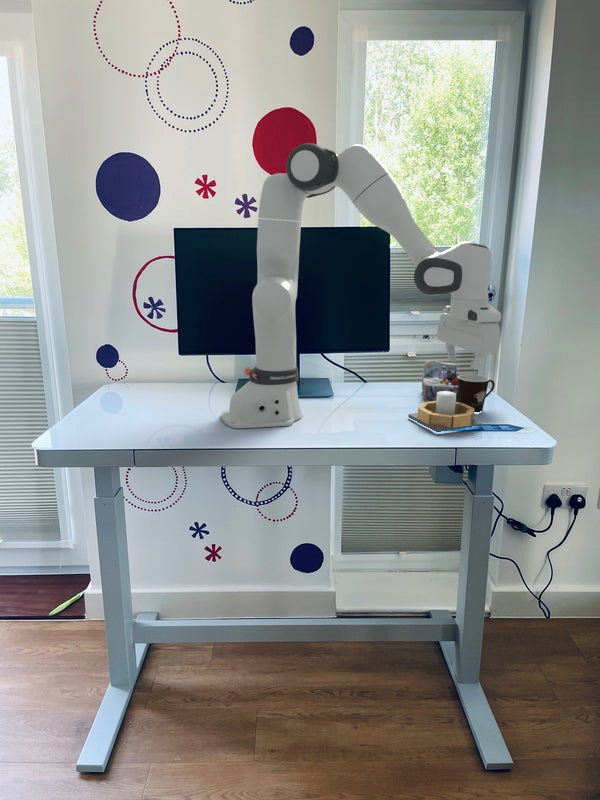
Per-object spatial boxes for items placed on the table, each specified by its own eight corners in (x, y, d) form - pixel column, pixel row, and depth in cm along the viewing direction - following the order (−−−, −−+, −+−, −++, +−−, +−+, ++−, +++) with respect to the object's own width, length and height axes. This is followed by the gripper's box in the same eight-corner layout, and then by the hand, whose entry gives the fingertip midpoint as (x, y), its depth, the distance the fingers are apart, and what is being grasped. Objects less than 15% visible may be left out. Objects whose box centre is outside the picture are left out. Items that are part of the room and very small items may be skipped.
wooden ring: (438, 430, 148) (439, 419, 148) (409, 414, 161) (410, 403, 160) (483, 423, 153) (484, 412, 152) (452, 408, 166) (452, 398, 165)
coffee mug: (459, 416, 164) (462, 381, 161) (451, 406, 173) (454, 374, 170) (500, 416, 164) (504, 381, 161) (491, 407, 172) (494, 374, 170)
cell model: (454, 357, 188) (473, 373, 169) (451, 389, 191) (469, 408, 172) (414, 357, 188) (428, 373, 169) (412, 389, 191) (425, 408, 172)
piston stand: (437, 435, 149) (439, 403, 147) (408, 419, 162) (409, 389, 159) (482, 428, 154) (485, 397, 152) (450, 413, 166) (452, 384, 164)
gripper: (433, 305, 151) (429, 357, 155) (484, 316, 133) (478, 375, 137) (453, 304, 154) (449, 355, 157) (506, 315, 135) (499, 373, 139)
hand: (463, 364), depth 147 cm, fingers open, 8 cm apart
